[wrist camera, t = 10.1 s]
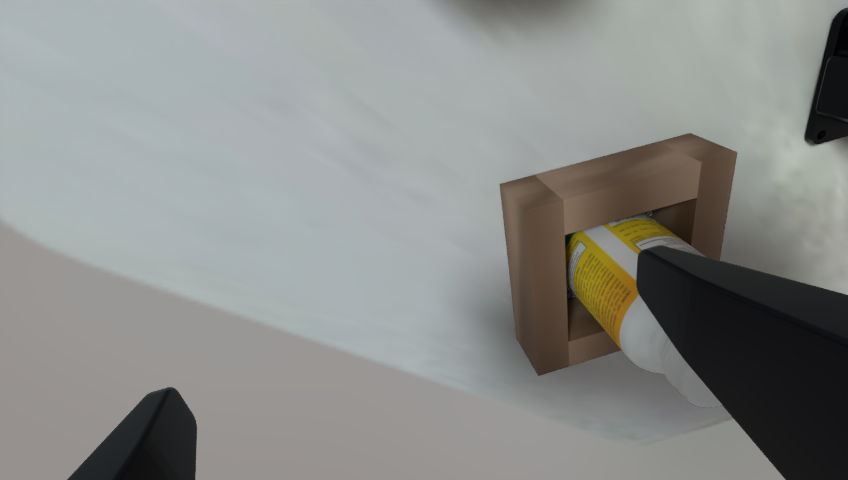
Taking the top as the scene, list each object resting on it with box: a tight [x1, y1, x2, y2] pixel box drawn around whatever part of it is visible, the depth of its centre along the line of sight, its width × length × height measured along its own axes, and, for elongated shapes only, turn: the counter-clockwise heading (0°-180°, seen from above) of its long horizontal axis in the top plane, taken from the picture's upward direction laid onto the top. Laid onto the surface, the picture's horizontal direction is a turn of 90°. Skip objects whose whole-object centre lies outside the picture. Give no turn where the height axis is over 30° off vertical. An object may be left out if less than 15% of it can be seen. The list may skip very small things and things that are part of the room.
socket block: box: [500, 133, 737, 376], centre depth 25 cm, size 10×10×3 cm
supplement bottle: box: [565, 213, 722, 408], centre depth 22 cm, size 5×5×10 cm
